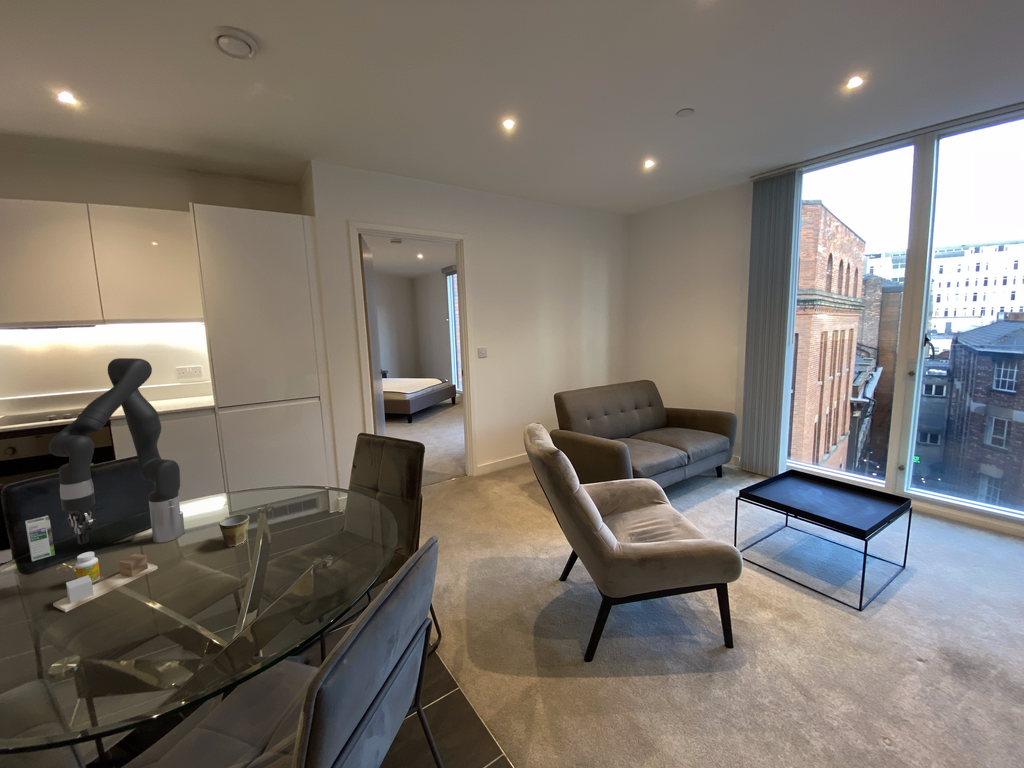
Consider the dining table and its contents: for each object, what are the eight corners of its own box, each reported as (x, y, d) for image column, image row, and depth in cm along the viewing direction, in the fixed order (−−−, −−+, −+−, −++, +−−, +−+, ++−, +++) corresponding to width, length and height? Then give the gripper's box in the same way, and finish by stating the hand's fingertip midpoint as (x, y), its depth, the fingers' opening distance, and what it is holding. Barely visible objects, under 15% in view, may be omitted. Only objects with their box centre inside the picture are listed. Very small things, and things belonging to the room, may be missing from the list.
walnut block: (136, 566, 144) (134, 553, 143) (147, 568, 143) (146, 555, 142) (120, 574, 139) (119, 561, 138) (132, 576, 138) (130, 563, 137)
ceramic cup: (255, 541, 164) (253, 518, 163) (227, 552, 156) (226, 528, 155) (240, 531, 171) (238, 509, 170) (213, 542, 163) (211, 519, 161)
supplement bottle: (85, 587, 134) (81, 560, 132) (73, 584, 135) (69, 558, 133) (104, 577, 139) (101, 551, 138) (92, 575, 140) (89, 549, 139)
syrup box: (31, 562, 147) (26, 525, 145) (30, 556, 150) (24, 520, 148) (55, 555, 151) (49, 519, 149) (53, 549, 155) (48, 514, 153)
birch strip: (145, 564, 147) (145, 561, 147) (157, 568, 145) (157, 566, 144) (53, 606, 125) (52, 603, 124) (65, 612, 122) (65, 609, 122)
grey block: (90, 589, 131) (88, 574, 131) (93, 595, 129) (91, 580, 128) (68, 597, 127) (65, 582, 127) (70, 603, 124) (68, 588, 124)
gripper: (103, 493, 134) (109, 541, 136) (81, 486, 138) (87, 533, 141) (73, 501, 127) (79, 552, 129) (50, 494, 131) (57, 544, 134)
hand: (83, 542), depth 135 cm, fingers closed
